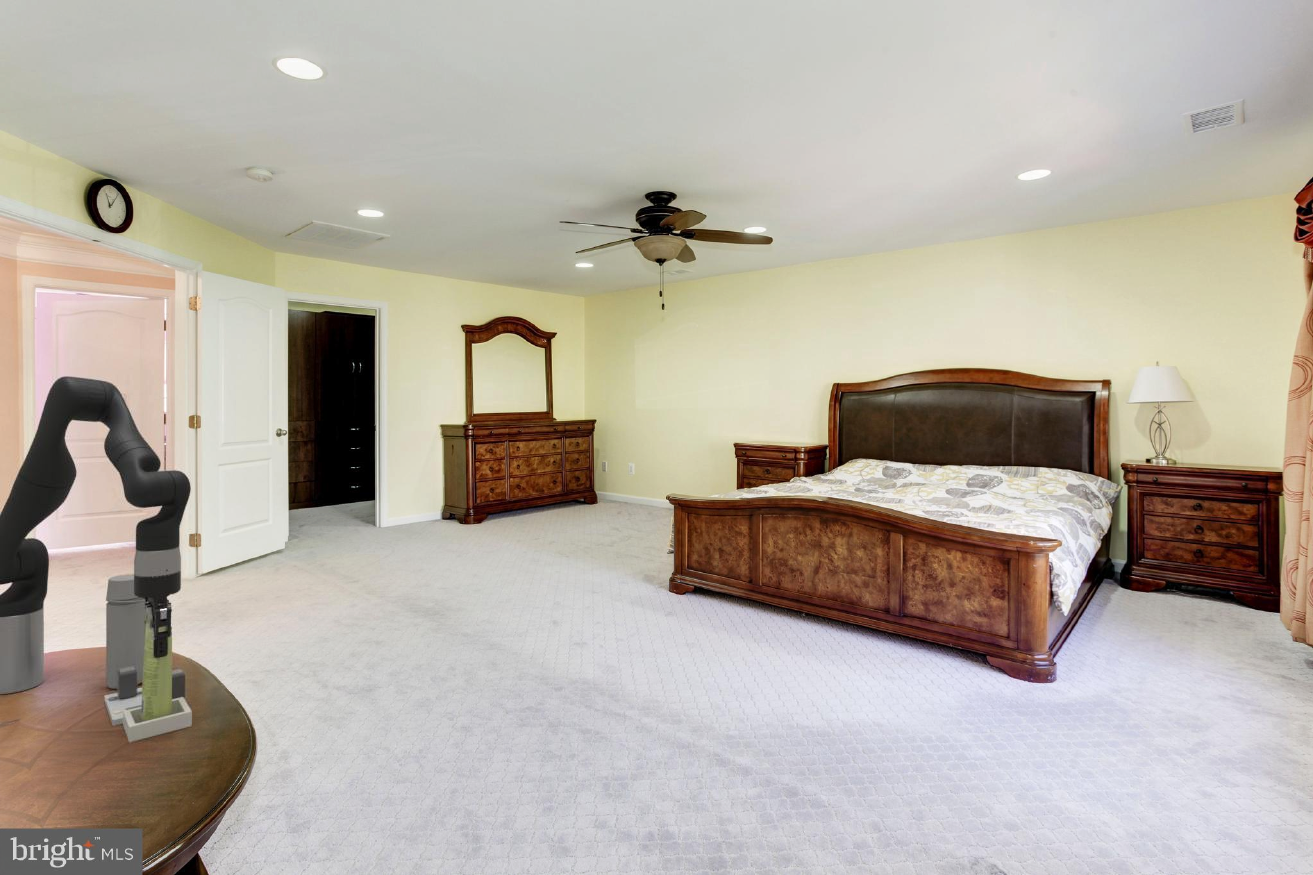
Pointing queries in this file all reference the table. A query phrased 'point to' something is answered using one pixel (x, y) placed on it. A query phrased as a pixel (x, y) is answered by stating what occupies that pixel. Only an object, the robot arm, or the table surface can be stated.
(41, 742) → the table surface
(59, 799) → the table surface
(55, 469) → the robot arm
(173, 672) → the block
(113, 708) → the breaker panel
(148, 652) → the tube
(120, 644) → the water bottle
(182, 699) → the frame
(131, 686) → the block
